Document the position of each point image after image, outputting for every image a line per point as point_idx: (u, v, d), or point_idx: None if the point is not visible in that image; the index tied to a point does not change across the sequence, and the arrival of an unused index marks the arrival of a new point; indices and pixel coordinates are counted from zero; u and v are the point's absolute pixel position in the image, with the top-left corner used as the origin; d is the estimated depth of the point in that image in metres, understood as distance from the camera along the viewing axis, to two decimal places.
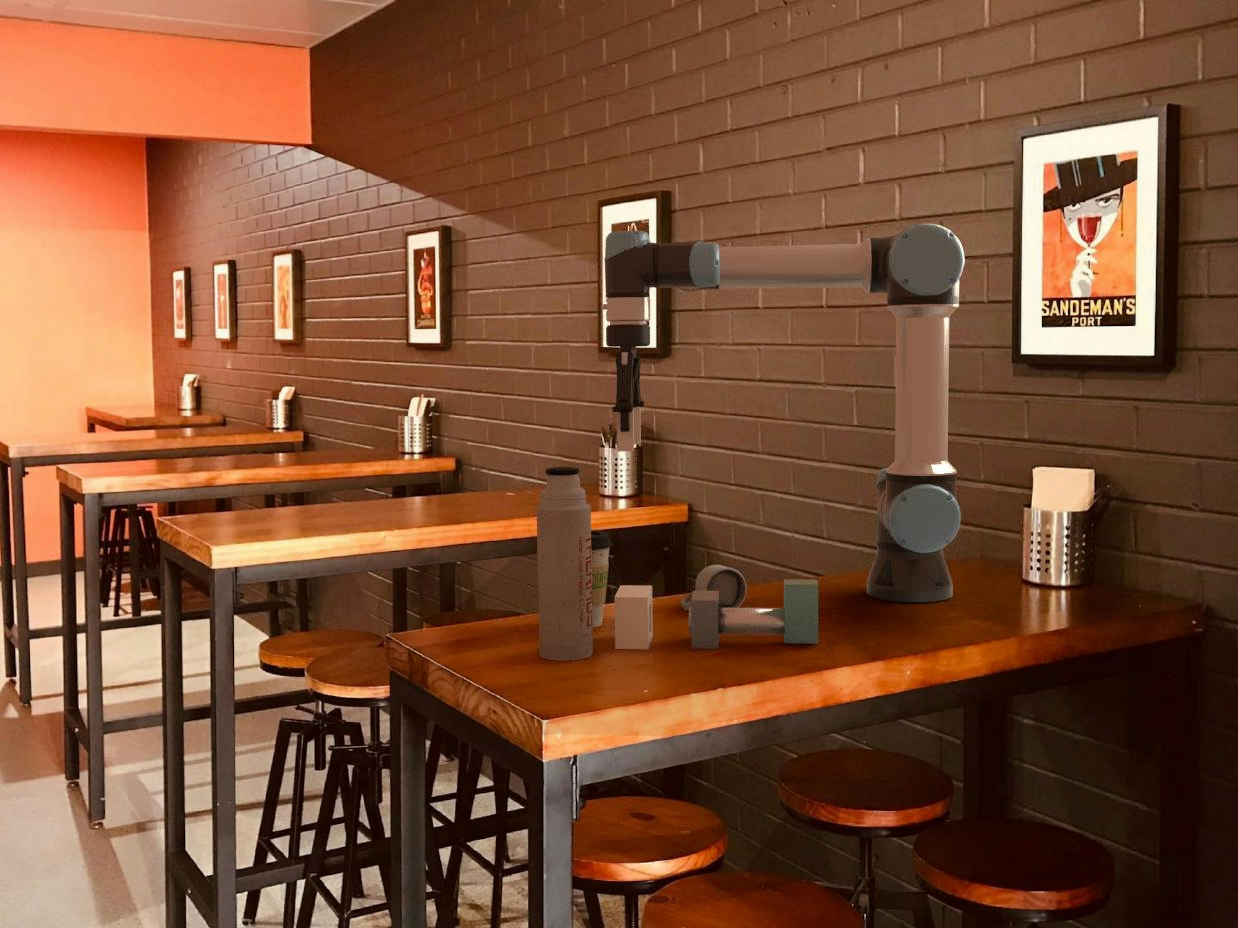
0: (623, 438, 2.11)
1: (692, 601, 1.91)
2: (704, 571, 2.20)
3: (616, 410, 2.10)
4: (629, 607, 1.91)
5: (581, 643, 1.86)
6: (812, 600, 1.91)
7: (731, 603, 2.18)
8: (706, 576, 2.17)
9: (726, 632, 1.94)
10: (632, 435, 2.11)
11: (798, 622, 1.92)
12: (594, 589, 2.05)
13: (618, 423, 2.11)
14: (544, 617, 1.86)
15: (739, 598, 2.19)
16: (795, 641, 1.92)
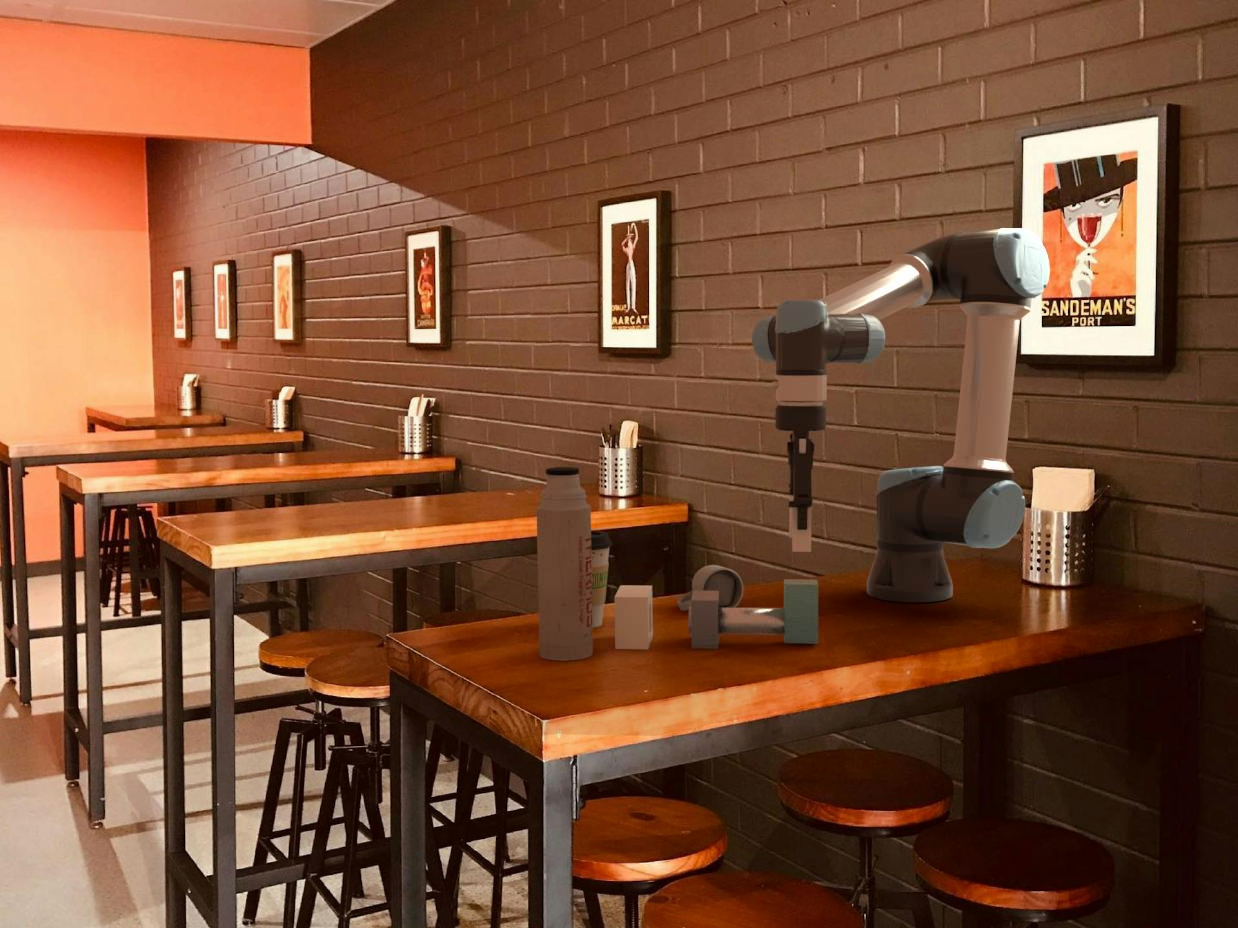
0: (800, 536, 1.85)
1: (692, 601, 1.91)
2: (701, 571, 2.20)
3: (793, 505, 1.84)
4: (629, 607, 1.91)
5: (581, 643, 1.86)
6: (812, 600, 1.91)
7: (727, 603, 2.18)
8: (703, 576, 2.17)
9: (726, 632, 1.94)
10: (810, 533, 1.85)
11: (798, 622, 1.92)
12: (594, 589, 2.05)
13: (794, 519, 1.85)
14: (544, 617, 1.86)
15: (735, 598, 2.19)
16: (795, 641, 1.92)
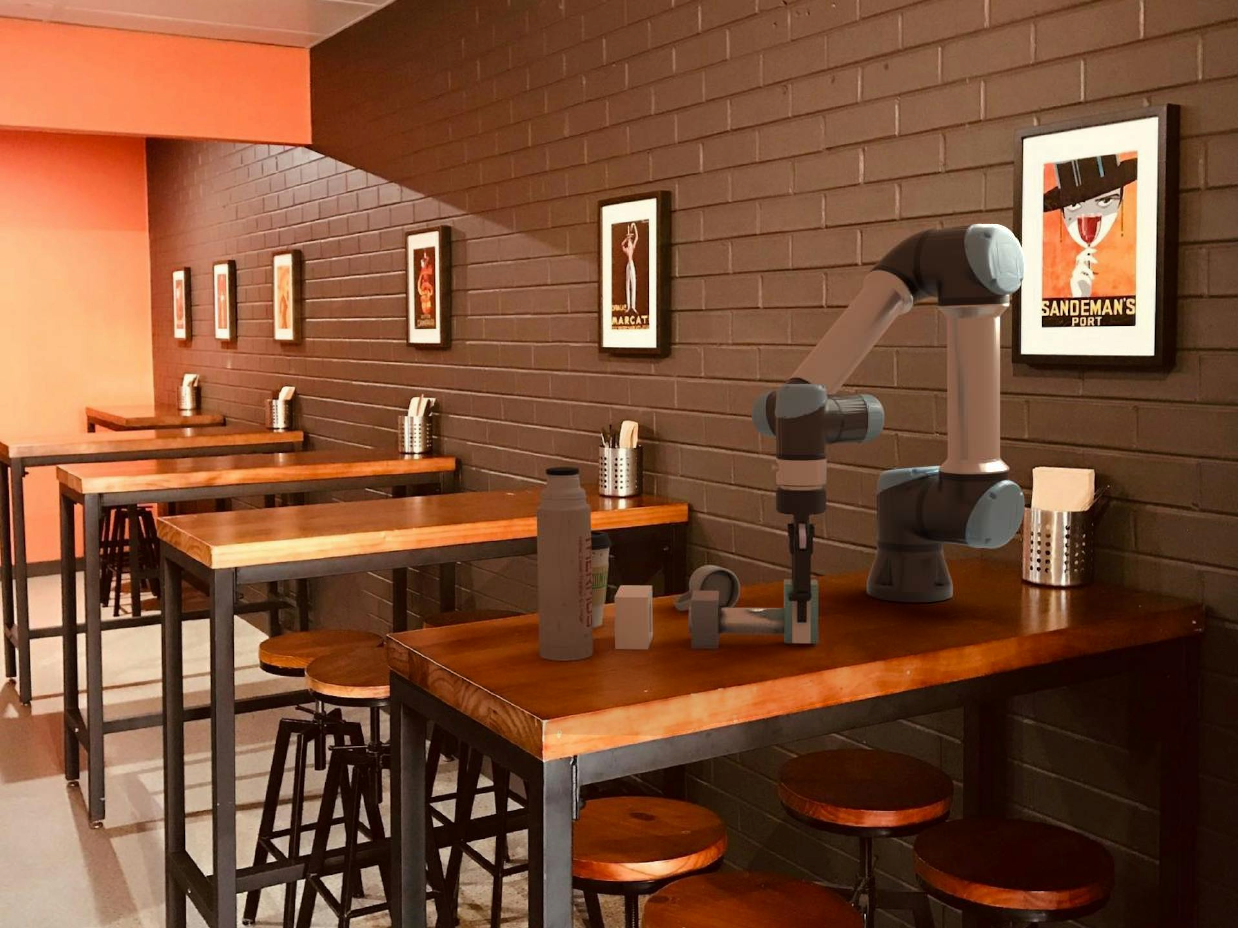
0: (799, 628, 1.91)
1: (692, 601, 1.91)
2: (698, 571, 2.20)
3: (792, 600, 1.90)
4: (629, 607, 1.91)
5: (581, 643, 1.86)
6: (812, 600, 1.91)
7: (724, 603, 2.18)
8: (700, 576, 2.17)
9: (726, 632, 1.94)
10: (809, 625, 1.91)
11: None
12: (594, 589, 2.05)
13: (794, 612, 1.91)
14: (544, 617, 1.86)
15: (732, 598, 2.19)
16: None
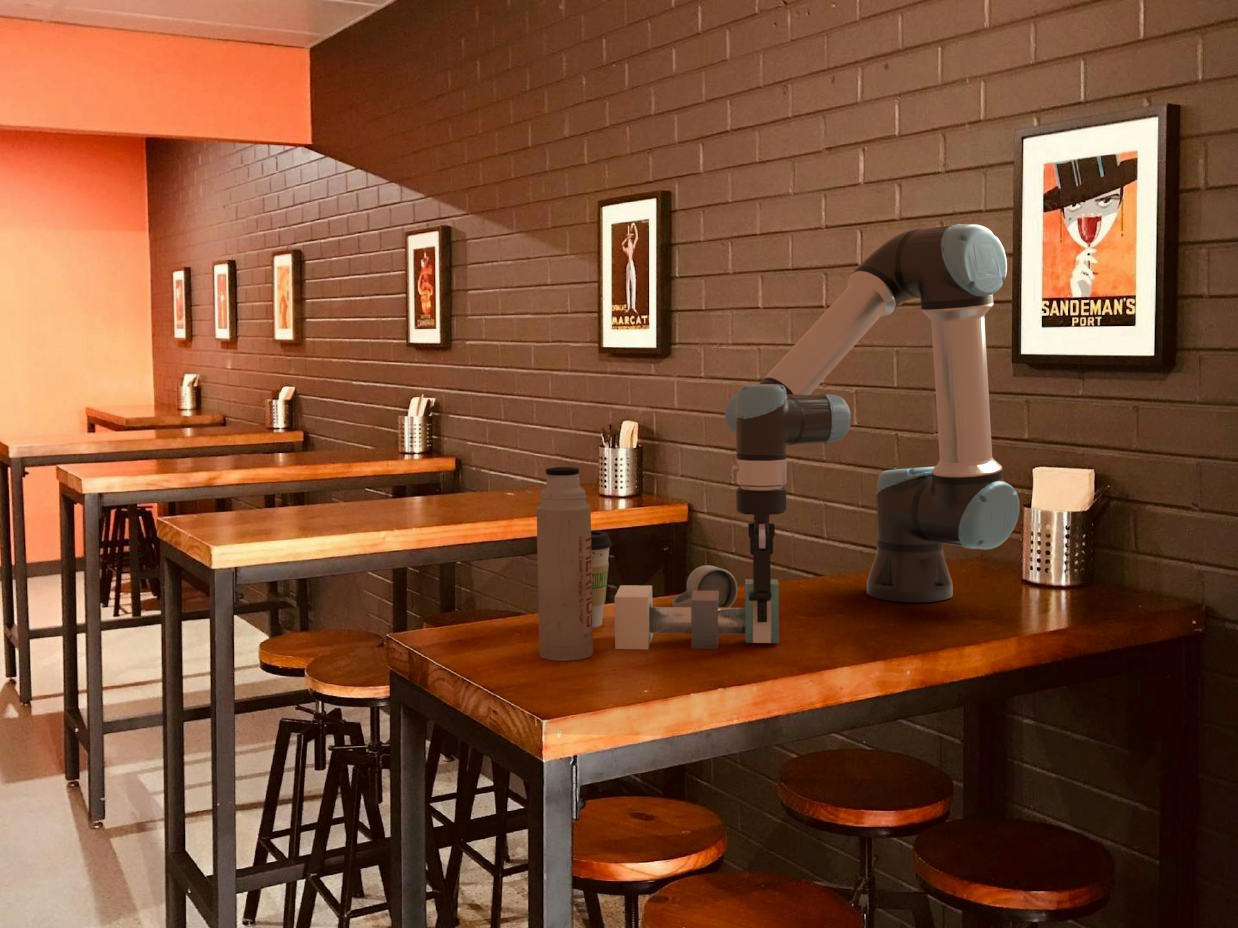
0: (760, 628, 1.92)
1: (692, 601, 1.91)
2: (695, 571, 2.20)
3: (753, 600, 1.90)
4: (629, 607, 1.91)
5: (581, 643, 1.86)
6: (772, 600, 1.92)
7: (722, 604, 2.18)
8: (697, 576, 2.17)
9: (687, 632, 1.94)
10: (769, 625, 1.91)
11: None
12: (594, 589, 2.05)
13: (754, 612, 1.91)
14: (544, 617, 1.86)
15: (730, 599, 2.19)
16: None
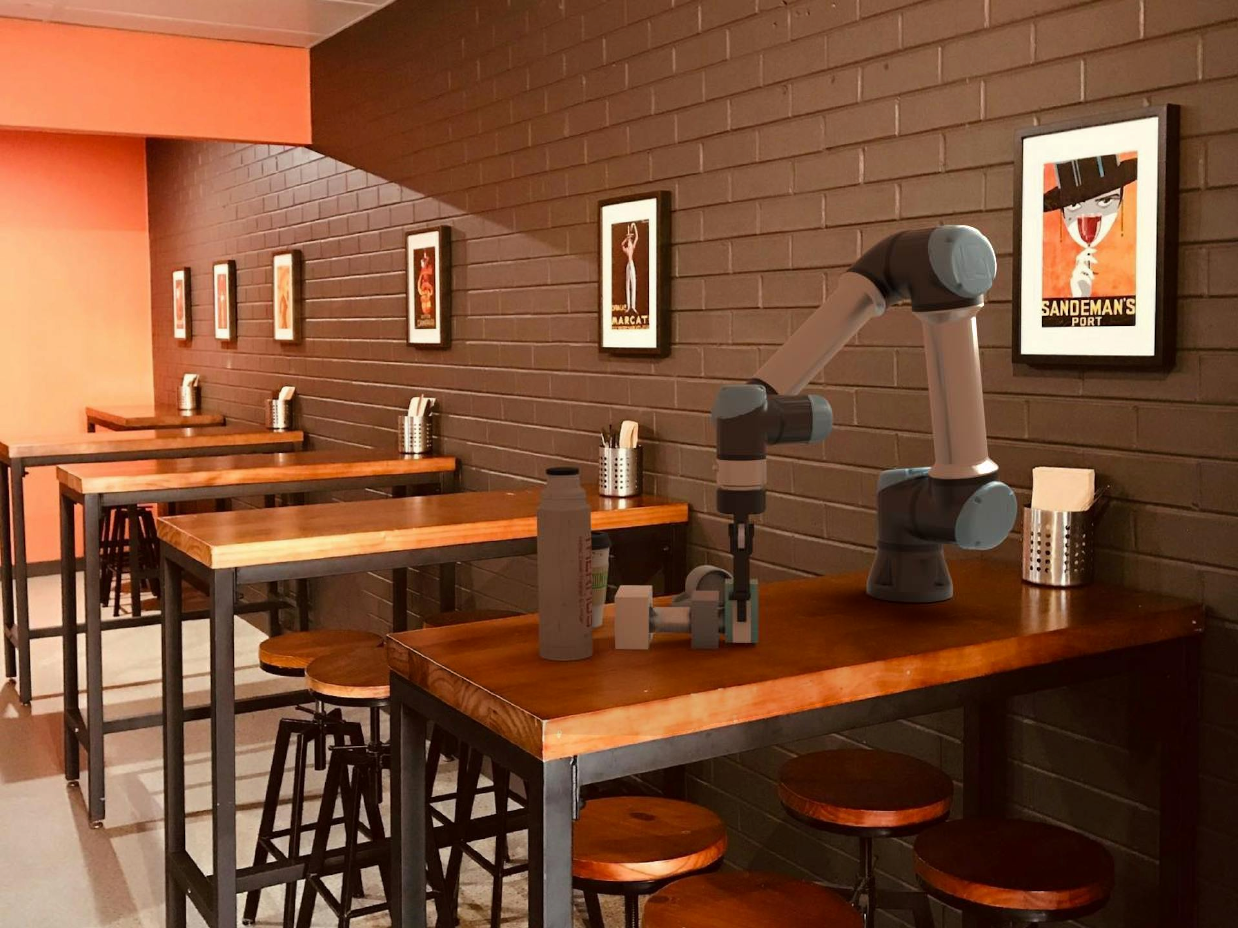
0: (740, 627, 1.92)
1: (692, 601, 1.91)
2: (694, 571, 2.20)
3: (732, 599, 1.91)
4: (629, 607, 1.91)
5: (581, 643, 1.86)
6: (752, 600, 1.92)
7: (721, 604, 2.18)
8: (696, 576, 2.17)
9: (668, 632, 1.95)
10: (749, 625, 1.92)
11: None
12: (594, 589, 2.05)
13: (734, 612, 1.92)
14: (544, 617, 1.86)
15: None
16: None
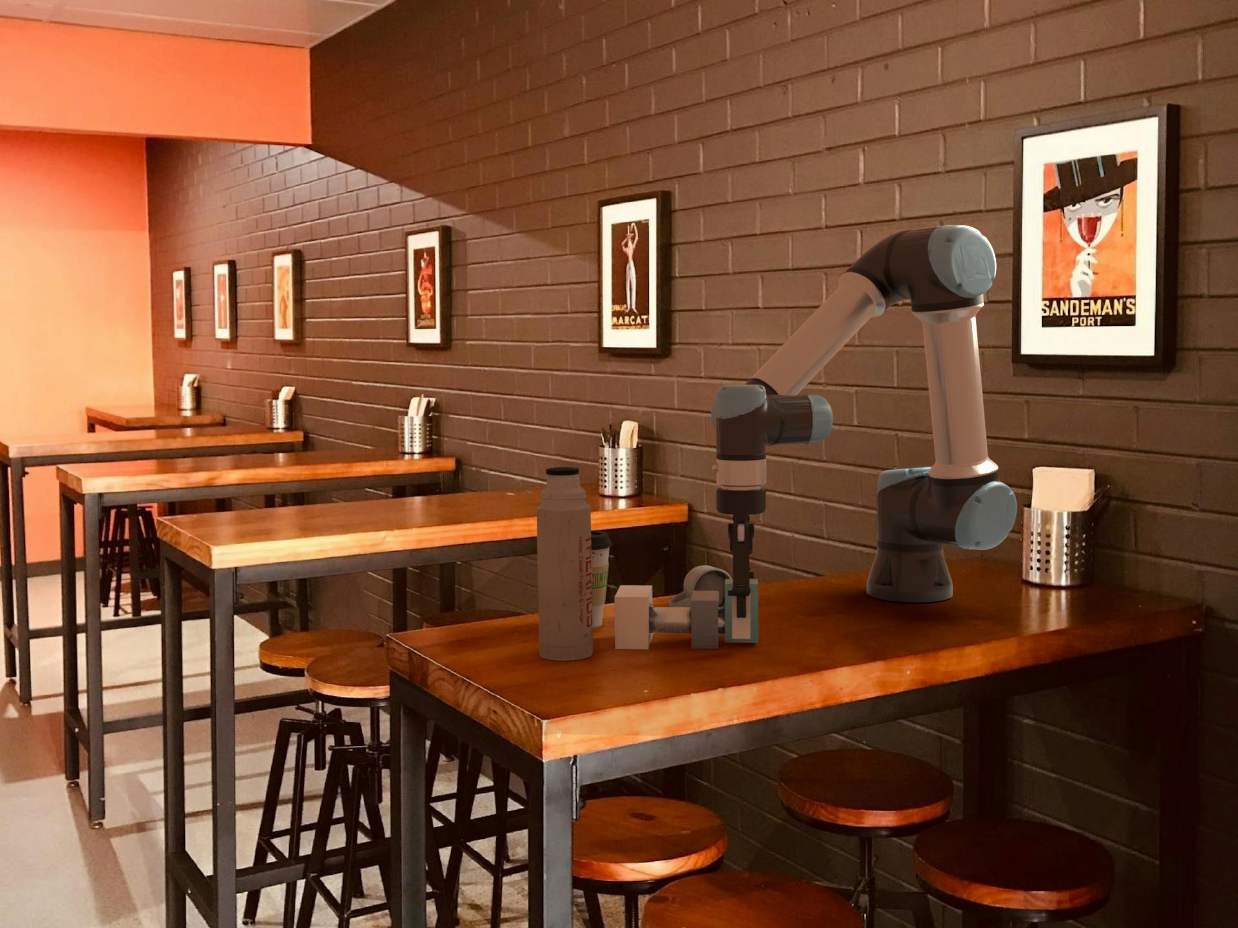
0: (739, 623, 1.88)
1: (692, 601, 1.91)
2: (692, 571, 2.20)
3: (732, 594, 1.87)
4: (629, 607, 1.91)
5: (581, 643, 1.86)
6: (752, 600, 1.92)
7: (719, 604, 2.18)
8: (694, 576, 2.17)
9: (667, 632, 1.95)
10: (749, 621, 1.88)
11: None
12: (594, 589, 2.05)
13: (733, 607, 1.88)
14: (544, 617, 1.86)
15: None
16: (735, 640, 1.93)
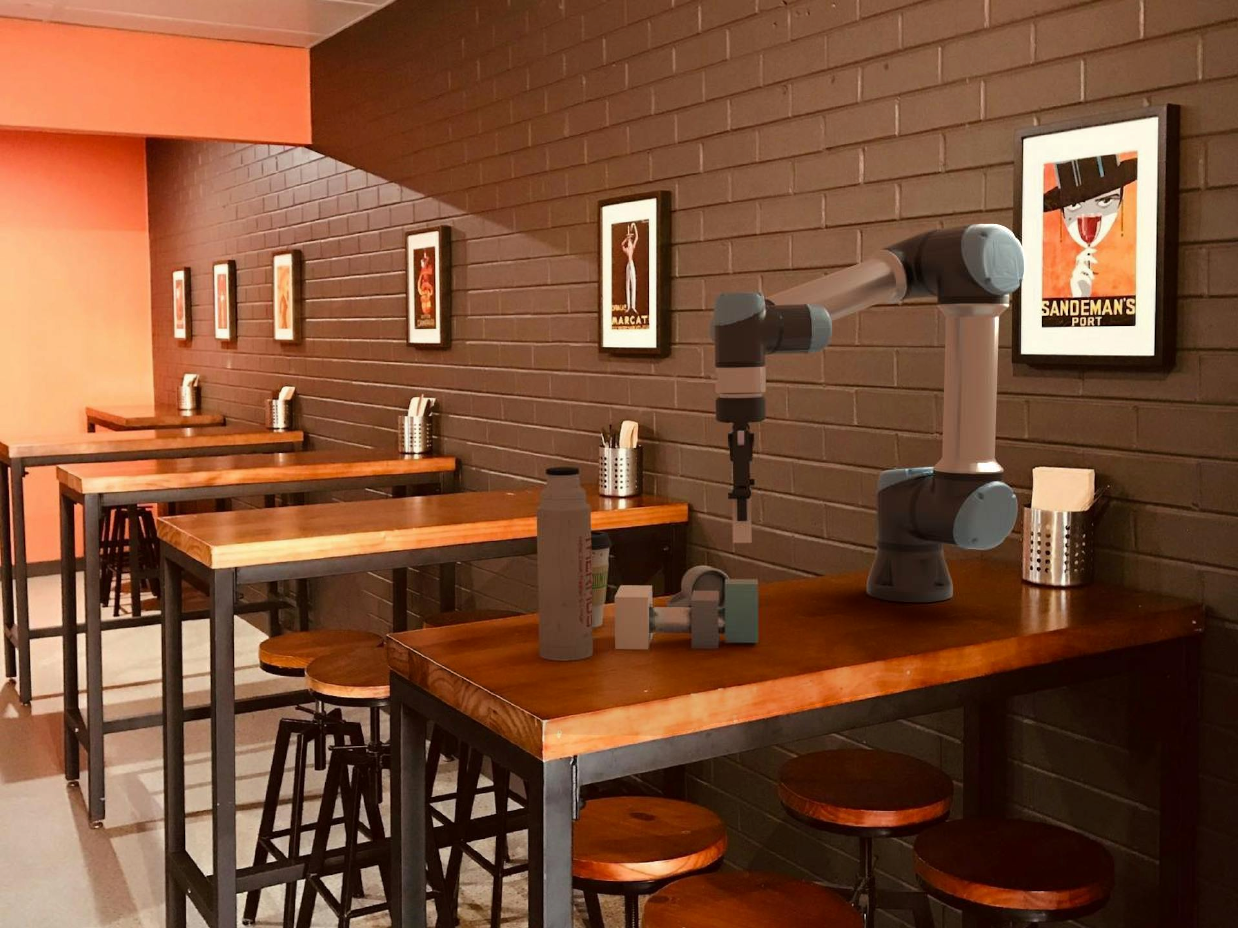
0: (740, 527, 1.86)
1: (692, 601, 1.91)
2: (690, 571, 2.20)
3: (732, 497, 1.85)
4: (629, 607, 1.91)
5: (581, 643, 1.86)
6: (752, 600, 1.92)
7: None
8: (692, 577, 2.17)
9: (667, 632, 1.95)
10: (750, 524, 1.86)
11: (739, 622, 1.93)
12: (594, 589, 2.05)
13: (734, 511, 1.86)
14: (544, 617, 1.86)
15: (724, 599, 2.18)
16: (735, 640, 1.93)
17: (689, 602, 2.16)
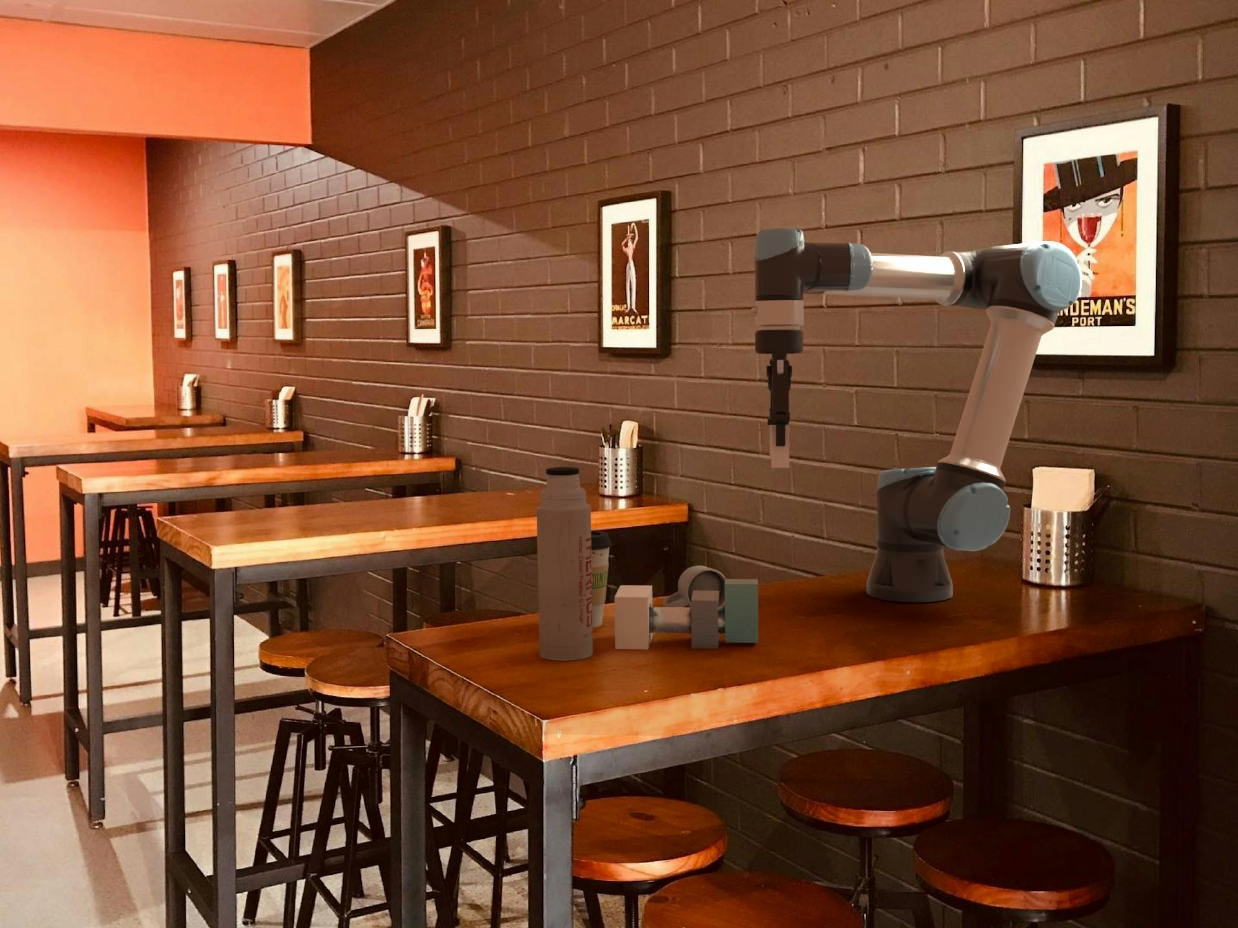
0: (778, 453, 1.94)
1: (692, 601, 1.91)
2: (687, 572, 2.20)
3: (771, 423, 1.93)
4: (629, 607, 1.91)
5: (581, 643, 1.86)
6: (752, 600, 1.92)
7: None
8: (688, 577, 2.17)
9: (667, 632, 1.95)
10: (788, 450, 1.94)
11: (739, 622, 1.93)
12: (594, 589, 2.05)
13: (773, 437, 1.94)
14: (544, 617, 1.86)
15: (721, 599, 2.18)
16: (735, 640, 1.93)
17: (686, 602, 2.16)
